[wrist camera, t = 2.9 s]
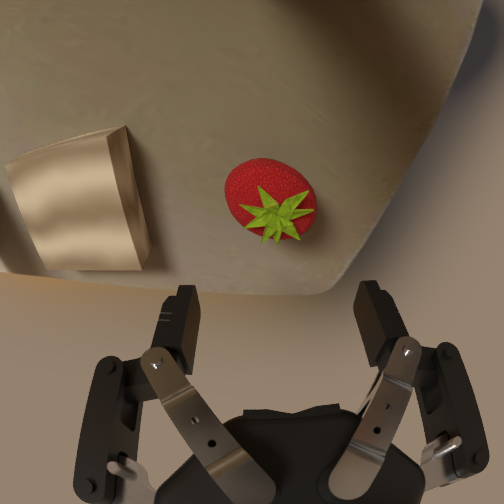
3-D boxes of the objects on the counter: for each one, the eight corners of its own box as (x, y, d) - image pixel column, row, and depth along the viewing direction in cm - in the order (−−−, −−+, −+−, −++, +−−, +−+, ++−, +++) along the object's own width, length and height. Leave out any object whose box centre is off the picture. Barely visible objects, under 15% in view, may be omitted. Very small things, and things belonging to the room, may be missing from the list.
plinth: (26, 152, 22) (5, 165, 19) (125, 125, 22) (106, 136, 19) (60, 250, 31) (46, 269, 28) (152, 247, 31) (142, 270, 27)
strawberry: (250, 127, 23) (249, 163, 15) (319, 170, 25) (350, 227, 17) (217, 179, 26) (200, 239, 18) (283, 215, 28) (295, 285, 20)
